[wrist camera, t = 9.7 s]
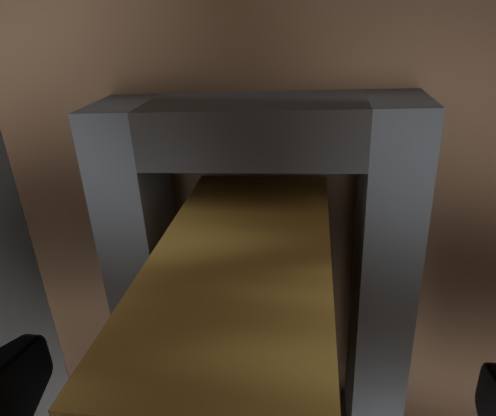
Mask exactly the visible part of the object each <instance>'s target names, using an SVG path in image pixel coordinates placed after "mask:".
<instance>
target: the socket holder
mask: <svg viewBox="0 0 496 416" xmlns="http://www.w3.org/2000/svg"><path fill="white" fill-rule="evenodd" d="M0 130H1V133H2V137H3V140H4V144H5V148H6V151H7V155H8V159H9V162H10V166H11V169H12V173H13V177H14V180H15V184H16V187H17V191H18V195H19V198H20V202H21V206H22V209H23V213H24V216H25V220H26V224H27V227H28V231H29V234H30V238H31V242H32V245H33V249H34V252H35V256H36V260H37V263H38V267H39V271H40V274H41V278H42V281H43V285H44V289H45V292H46V296H47V299H48V303H49V307H50V310H51V314H52V318H53V321H54V325H55V328H56V332H57V336H58V339H59V343H60V346H61V350H62V354H63V357H64V361H65V364H66V368H67V372H68V375H69V378H70V377H71V375H72V374H73V372H74V370H75V369H76V367H77V366H78V364H79V363H80V361H81V360H82V358H83V357H84V355H85V354H86V352H87V351H88V349H89V348H90V346H91V344H92V343H93V341H94V340H95V338H96V337H97V335H98V334H99V332H100V331H101V329H102V328H103V326H104V325H105V323H106V322H107V320H108V319H109V317H110V315H111V314H112V312H113V311H114V309H115V308H116V306H117V305H118V303H119V302H120V300H121V299H122V297H123V296H124V294H125V293H126V291H127V289H128V288H129V286H130V285H131V283H132V282H133V280H134V279H135V277H136V276H137V274H138V273H139V271H140V270H141V268H142V267H143V265H144V264H145V262H146V260H147V259H148V257H149V256H150V254H151V253H152V251H153V250H154V248H155V247H156V245H157V244H158V242H159V241H160V239H161V238H162V236H163V234H164V233H165V231H166V230H167V228H168V227H169V225H170V224H171V222H172V221H173V219H174V218H175V216H176V215H177V213H178V212H179V210H180V208H181V207H182V205H183V204H184V202H185V201H186V199H187V198H188V196H189V195H190V193H191V192H192V190H193V189H194V187H195V186H196V184H197V183H198V181H199V179H200V178H201V176H256V177H326V182H327V198H328V214H329V231H330V247H331V263H332V279H333V296H334V312H335V328H336V344H337V361H338V377H339V393H340V409H341V416H478V414H477V410H476V406H475V391H476V387H477V382H478V378H479V373H480V369H481V366H482V365H483V363H486V362H493V363H496V0H0Z"/></svg>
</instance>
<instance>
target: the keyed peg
mask: <svg viewBox="0 0 496 416" xmlns="http://www.w3.org/2000/svg"><path fill="white" fill-rule="evenodd" d="M48 412H49V416H341V409H340V393H339V377H338V361H337V344H336V328H335V312H334V296H333V279H332V263H331V247H330V231H329V214H328V198H327V182H326V177H256V176H201V178H200V179H199V181H198V183H197V184H196V186H195V187H194V189H193V190H192V192H191V193H190V195H189V196H188V198H187V199H186V201H185V202H184V204H183V205H182V207H181V208H180V210H179V212H178V213H177V215H176V216H175V218H174V219H173V221H172V222H171V224H170V225H169V227H168V228H167V230H166V231H165V233H164V234H163V236H162V238H161V239H160V241H159V242H158V244H157V245H156V247H155V248H154V250H153V251H152V253H151V254H150V256H149V257H148V259H147V260H146V262H145V264H144V265H143V267H142V268H141V270H140V271H139V273H138V274H137V276H136V277H135V279H134V280H133V282H132V283H131V285H130V286H129V288H128V289H127V291H126V293H125V294H124V296H123V297H122V299H121V300H120V302H119V303H118V305H117V306H116V308H115V309H114V311H113V312H112V314H111V315H110V317H109V319H108V320H107V322H106V323H105V325H104V326H103V328H102V329H101V331H100V332H99V334H98V335H97V337H96V338H95V340H94V341H93V343H92V344H91V346H90V348H89V349H88V351H87V352H86V354H85V355H84V357H83V358H82V360H81V361H80V363H79V364H78V366H77V367H76V369H75V370H74V372H73V374H72V375H71V377H70V378H69V380H68V381H67V383H66V384H65V386H64V387H63V389H62V390H61V392H60V393H59V395H58V396H57V398H56V399H55V401H54V403H53V404H52V406H51V407H50V409H49V410H48Z"/></svg>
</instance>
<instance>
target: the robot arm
mask: <svg viewBox="0 0 496 416" xmlns="http://www.w3.org/2000/svg"><path fill="white" fill-rule="evenodd" d="M52 370H53V363H52V359H51V356H50V352H49V349H48V346H47V342H46V339H45V338H44V337H43V336H41V335H33V334H25V335H22V336H20V337H18V338H16V339H14V340H13V341H11V342H9V343H7V344H5V345H4V346H2V347H0V416H34V413H35V411H36V409H37V407H38V404H39V402H40V400H41V398H42V395H43V393H44V391H45V388H46V386H47V384H48V382H49V379H50V377H51V374H52ZM475 406H476V410H477V414H478V416H496V363H493V362H486V363H483V365H482V366H481V369H480V373H479V378H478V382H477V387H476V391H475Z"/></svg>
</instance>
